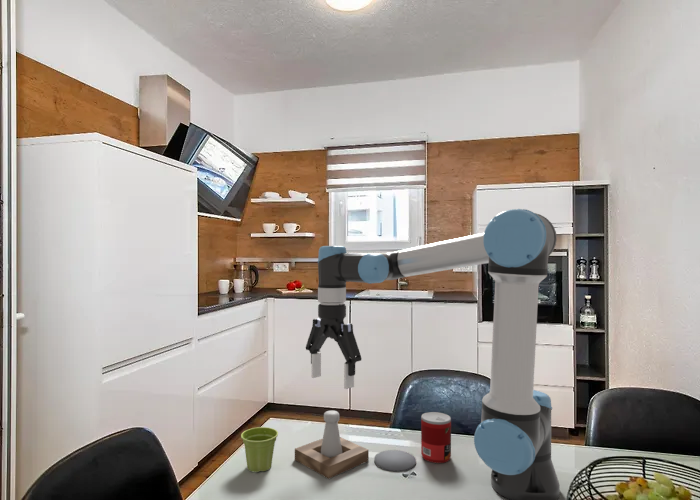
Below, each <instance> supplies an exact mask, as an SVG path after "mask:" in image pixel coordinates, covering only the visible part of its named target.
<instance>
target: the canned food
mask: <svg viewBox="0 0 700 500" xmlns="http://www.w3.org/2000/svg"><path fill="white" fill-rule="evenodd" d="M420 419H421V421H420V425H421V427H420V429H421V430H420V431H421V434H420V437H421V438H420V439H421V442H420V445H421V446H420V447H421V449H420V450H421V452H420V453H421V457H422V459H424V460H425V461H426V462H429V463H432V464H433V463H434V464H445V463H448V462H449V461H450V460H451V457H452V417H451V415H448V414H447V413H443V412H437V411H430V412H425V413H422V414H421V418H420Z"/></svg>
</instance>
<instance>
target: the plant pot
mask: <svg viewBox="0 0 700 500" xmlns="http://www.w3.org/2000/svg"><path fill="white" fill-rule="evenodd" d="M278 435H279V431H278V430H277V429H275V428H273V427H266V426H258V427H257V426H256V427H252V428H249V429H246V430H244V431H243V432H242V433H241V434H240V438H241V440H242V442H243V445H244V451H245V458H246V459H245V460H246V468H247V470H248V471H249V472H253V473H259V472H266V471H268V470H270V469H271V468H272V463H273V456H274V449H275V444H276V441H277V437H278Z"/></svg>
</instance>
